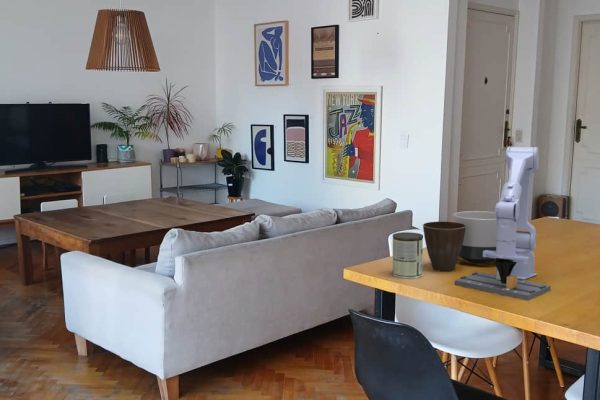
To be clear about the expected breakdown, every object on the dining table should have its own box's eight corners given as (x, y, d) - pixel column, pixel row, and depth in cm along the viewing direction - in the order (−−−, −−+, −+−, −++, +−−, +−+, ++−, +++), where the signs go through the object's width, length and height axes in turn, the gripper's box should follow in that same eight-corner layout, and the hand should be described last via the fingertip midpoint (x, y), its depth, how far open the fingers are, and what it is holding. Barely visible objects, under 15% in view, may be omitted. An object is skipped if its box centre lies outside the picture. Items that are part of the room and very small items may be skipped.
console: (478, 276, 215) (479, 270, 215) (550, 290, 197) (550, 284, 197) (454, 284, 205) (454, 278, 205) (527, 300, 187) (528, 293, 187)
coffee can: (389, 271, 223) (390, 232, 221) (418, 271, 223) (419, 231, 221) (395, 279, 212) (395, 238, 211) (425, 278, 213) (426, 237, 211)
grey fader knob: (501, 277, 206) (501, 266, 206) (506, 278, 205) (507, 267, 204) (496, 279, 204) (496, 268, 204) (502, 280, 203) (502, 269, 202)
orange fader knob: (511, 285, 196) (511, 274, 196) (517, 286, 195) (517, 275, 195) (506, 287, 194) (506, 276, 194) (512, 288, 193) (512, 277, 192)
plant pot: (458, 276, 216) (459, 230, 214) (416, 271, 223) (417, 226, 221) (469, 266, 229) (470, 223, 227) (429, 262, 236) (430, 220, 234)
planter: (508, 268, 225) (510, 219, 223) (453, 266, 229) (454, 218, 227) (502, 256, 244) (504, 211, 242) (451, 254, 248) (452, 210, 246)
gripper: (478, 238, 197) (477, 281, 199) (522, 245, 187) (520, 289, 188) (489, 235, 202) (488, 276, 204) (533, 241, 191) (531, 285, 193)
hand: (504, 282), depth 196 cm, fingers closed
